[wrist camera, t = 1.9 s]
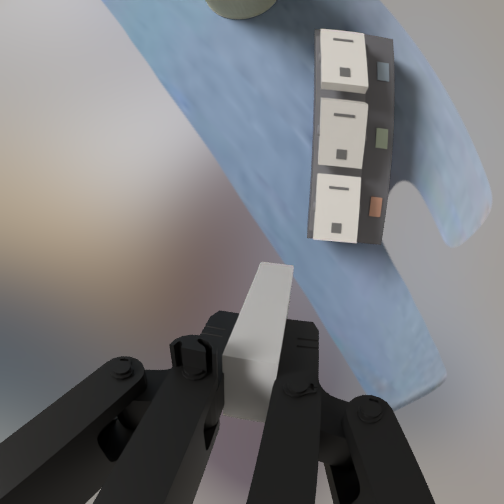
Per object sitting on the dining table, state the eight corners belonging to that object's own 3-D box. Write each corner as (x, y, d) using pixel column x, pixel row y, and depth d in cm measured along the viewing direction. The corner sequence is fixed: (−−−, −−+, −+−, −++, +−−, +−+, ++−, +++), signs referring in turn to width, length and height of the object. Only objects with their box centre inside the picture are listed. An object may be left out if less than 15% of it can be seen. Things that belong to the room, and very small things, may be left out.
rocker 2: (318, 97, 23) (319, 99, 22) (367, 102, 23) (370, 105, 21) (315, 158, 27) (316, 164, 26) (361, 163, 26) (363, 169, 25)
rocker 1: (318, 37, 22) (318, 28, 21) (363, 42, 21) (366, 33, 20) (318, 88, 23) (319, 81, 21) (367, 94, 22) (370, 87, 21)
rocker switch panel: (314, 43, 27) (314, 25, 22) (382, 51, 26) (395, 36, 20) (307, 224, 36) (307, 241, 30) (372, 230, 34) (383, 248, 29)
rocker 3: (314, 175, 28) (315, 172, 26) (359, 179, 27) (363, 177, 25) (310, 238, 28) (311, 239, 27) (355, 242, 28) (358, 243, 26)
